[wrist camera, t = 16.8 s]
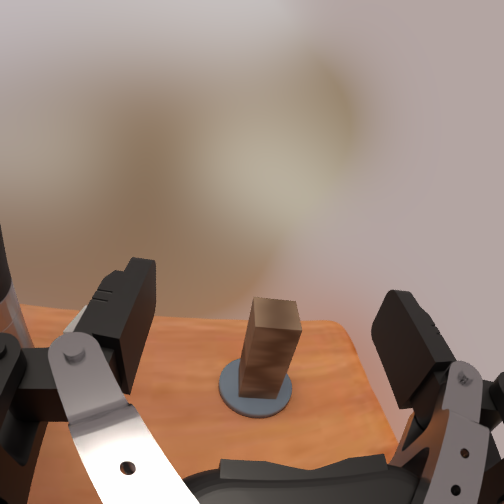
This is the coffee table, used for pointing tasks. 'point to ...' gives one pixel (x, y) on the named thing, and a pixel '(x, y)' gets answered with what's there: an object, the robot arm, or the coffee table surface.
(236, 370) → the slate dish
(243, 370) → the walnut block
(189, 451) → the coffee table surface
